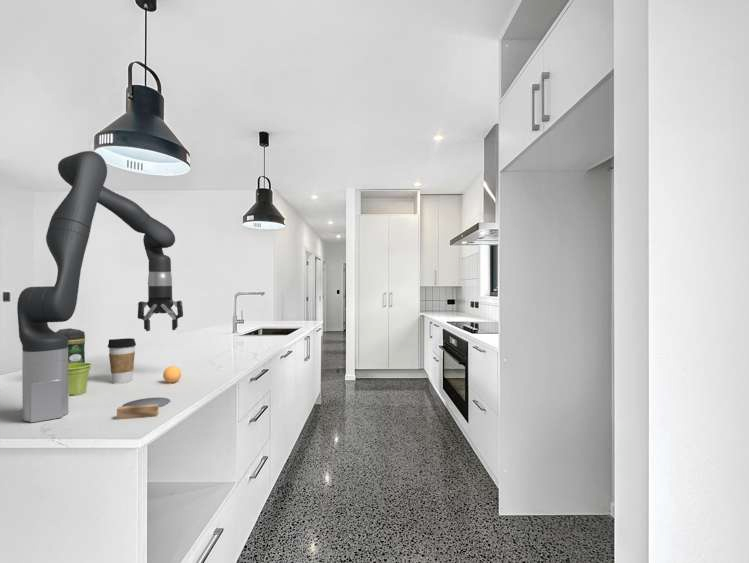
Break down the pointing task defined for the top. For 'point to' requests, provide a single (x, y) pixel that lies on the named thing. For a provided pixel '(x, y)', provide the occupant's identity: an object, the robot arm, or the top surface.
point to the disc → (148, 402)
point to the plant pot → (78, 377)
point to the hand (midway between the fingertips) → (161, 330)
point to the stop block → (137, 411)
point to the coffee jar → (74, 345)
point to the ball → (172, 374)
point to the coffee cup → (121, 359)
